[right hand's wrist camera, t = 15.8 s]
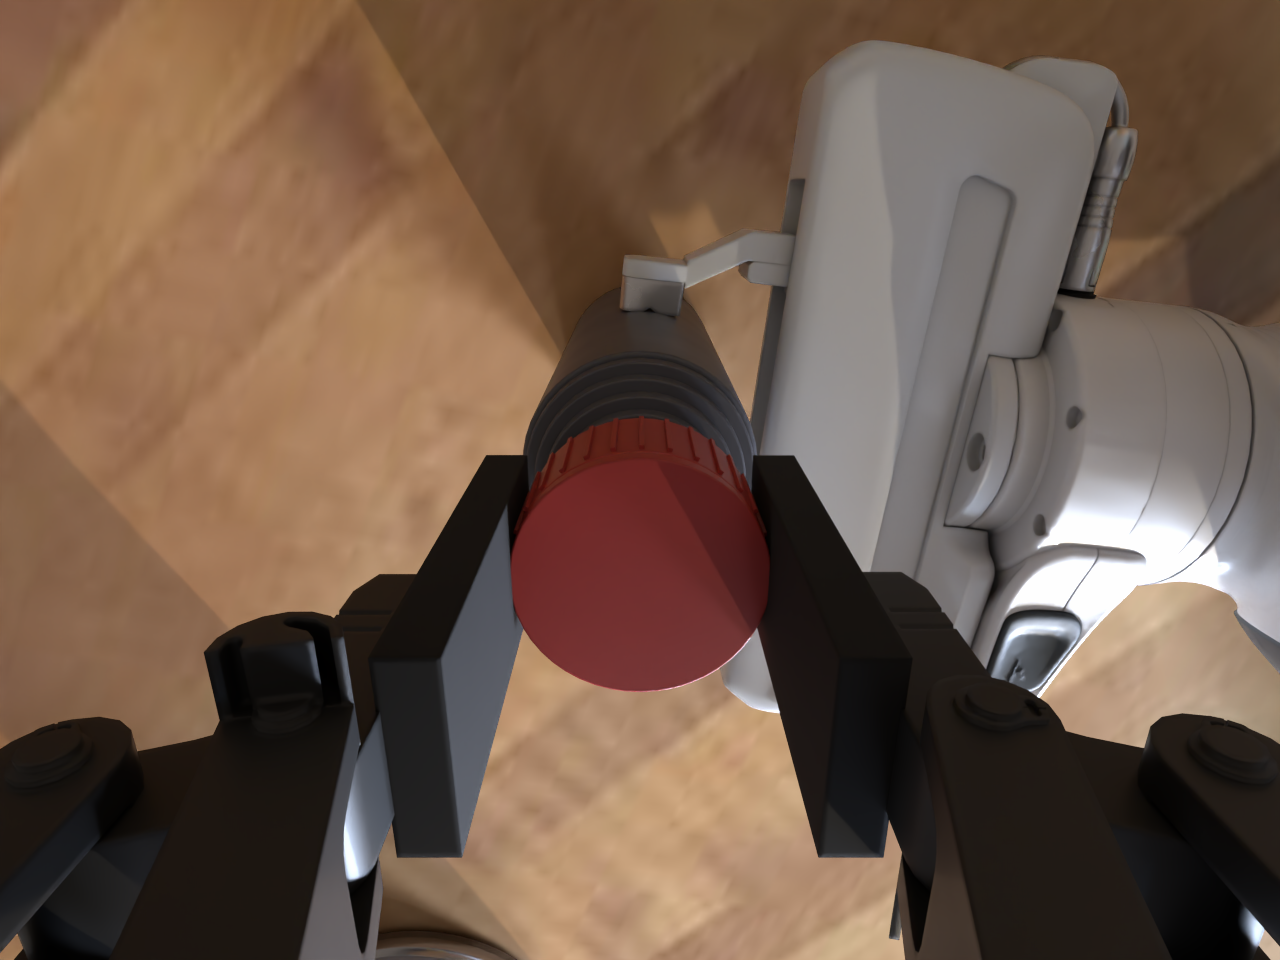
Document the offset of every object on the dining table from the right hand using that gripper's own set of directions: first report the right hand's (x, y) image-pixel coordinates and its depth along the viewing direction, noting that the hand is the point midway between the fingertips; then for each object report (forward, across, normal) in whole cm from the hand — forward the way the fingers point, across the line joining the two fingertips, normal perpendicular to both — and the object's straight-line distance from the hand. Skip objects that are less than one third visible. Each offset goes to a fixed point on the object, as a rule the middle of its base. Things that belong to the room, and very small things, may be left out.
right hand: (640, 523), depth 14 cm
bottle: (+16, 0, 0) cm, 16 cm away
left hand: (+10, -1, 0) cm, 10 cm away
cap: (-2, 0, 0) cm, 2 cm away
